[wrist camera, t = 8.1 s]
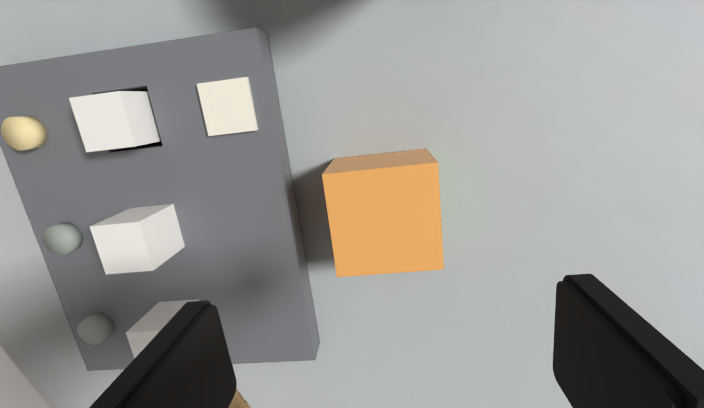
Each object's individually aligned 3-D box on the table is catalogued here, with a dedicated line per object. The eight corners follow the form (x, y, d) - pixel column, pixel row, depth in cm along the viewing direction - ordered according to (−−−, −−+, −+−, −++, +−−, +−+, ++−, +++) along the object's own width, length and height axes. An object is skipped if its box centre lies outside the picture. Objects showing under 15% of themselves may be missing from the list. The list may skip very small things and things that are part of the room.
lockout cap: (426, 148, 23) (437, 162, 18) (431, 235, 25) (443, 269, 20) (333, 158, 24) (321, 174, 19) (345, 242, 25) (336, 277, 21)
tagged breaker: (162, 91, 23) (119, 90, 19) (173, 138, 24) (134, 146, 20) (119, 97, 24) (68, 97, 20) (132, 143, 24) (86, 152, 21)
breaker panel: (267, 33, 22) (231, 13, 17) (319, 341, 28) (305, 398, 23) (4, 72, 24) (-103, 65, 19) (106, 353, 30) (47, 407, 25)
